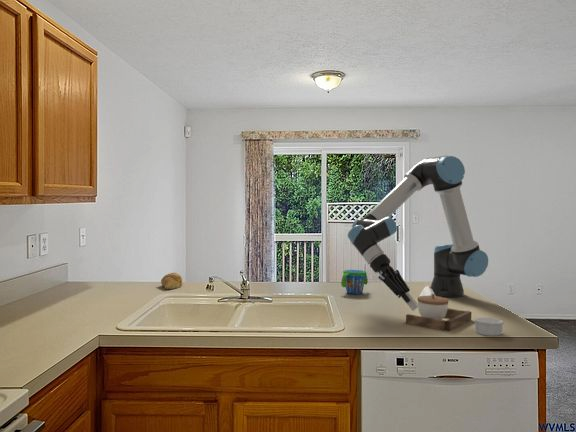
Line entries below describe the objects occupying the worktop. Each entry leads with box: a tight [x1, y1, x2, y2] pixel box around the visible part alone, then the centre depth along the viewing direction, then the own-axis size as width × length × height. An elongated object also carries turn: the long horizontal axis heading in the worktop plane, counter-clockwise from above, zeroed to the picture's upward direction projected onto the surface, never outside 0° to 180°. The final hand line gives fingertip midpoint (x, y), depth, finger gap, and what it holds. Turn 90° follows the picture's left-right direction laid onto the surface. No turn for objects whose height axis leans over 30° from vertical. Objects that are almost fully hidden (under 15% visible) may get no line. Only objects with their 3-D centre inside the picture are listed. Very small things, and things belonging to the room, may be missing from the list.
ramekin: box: [474, 316, 504, 337], centre depth 165 cm, size 9×9×4 cm
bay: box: [405, 307, 472, 332], centre depth 179 cm, size 16×21×3 cm
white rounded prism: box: [418, 285, 434, 297], centre depth 206 cm, size 7×7×24 cm
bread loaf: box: [160, 272, 183, 290], centre depth 244 cm, size 21×10×8 cm, turn 3°
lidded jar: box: [417, 294, 450, 320], centre depth 181 cm, size 11×11×9 cm
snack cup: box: [340, 269, 369, 295], centre depth 233 cm, size 16×10×10 cm
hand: (415, 308), depth 185 cm, fingers closed
